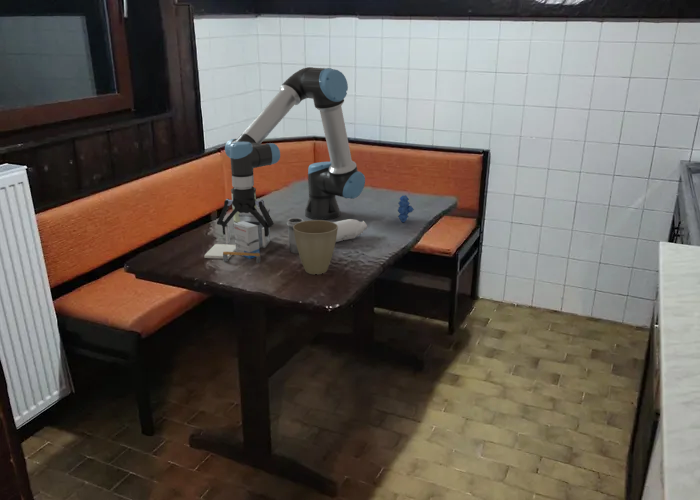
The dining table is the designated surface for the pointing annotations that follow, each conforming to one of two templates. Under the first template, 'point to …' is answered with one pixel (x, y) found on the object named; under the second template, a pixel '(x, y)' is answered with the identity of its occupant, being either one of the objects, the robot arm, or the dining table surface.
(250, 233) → the ink box
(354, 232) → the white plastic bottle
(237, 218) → the coffee can
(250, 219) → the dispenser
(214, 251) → the tile
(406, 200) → the grapes
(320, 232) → the plant pot
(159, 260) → the dining table surface
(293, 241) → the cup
